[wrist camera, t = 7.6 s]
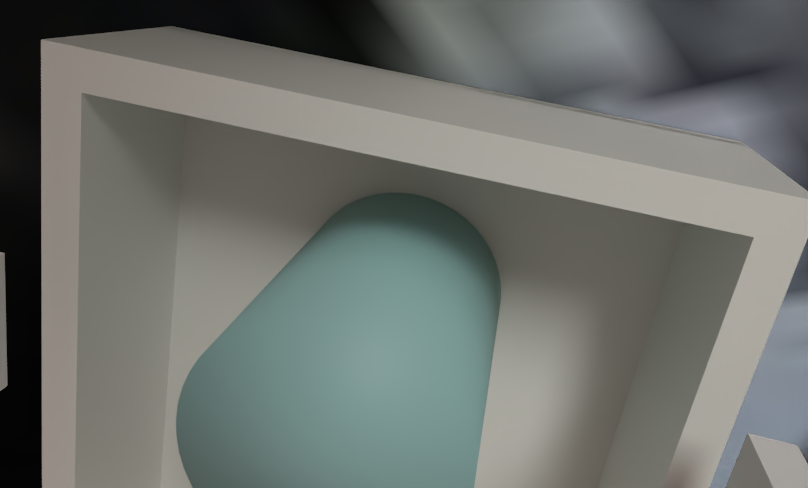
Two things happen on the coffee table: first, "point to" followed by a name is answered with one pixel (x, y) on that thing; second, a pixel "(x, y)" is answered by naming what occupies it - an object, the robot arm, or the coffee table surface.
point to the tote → (396, 173)
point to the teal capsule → (353, 360)
